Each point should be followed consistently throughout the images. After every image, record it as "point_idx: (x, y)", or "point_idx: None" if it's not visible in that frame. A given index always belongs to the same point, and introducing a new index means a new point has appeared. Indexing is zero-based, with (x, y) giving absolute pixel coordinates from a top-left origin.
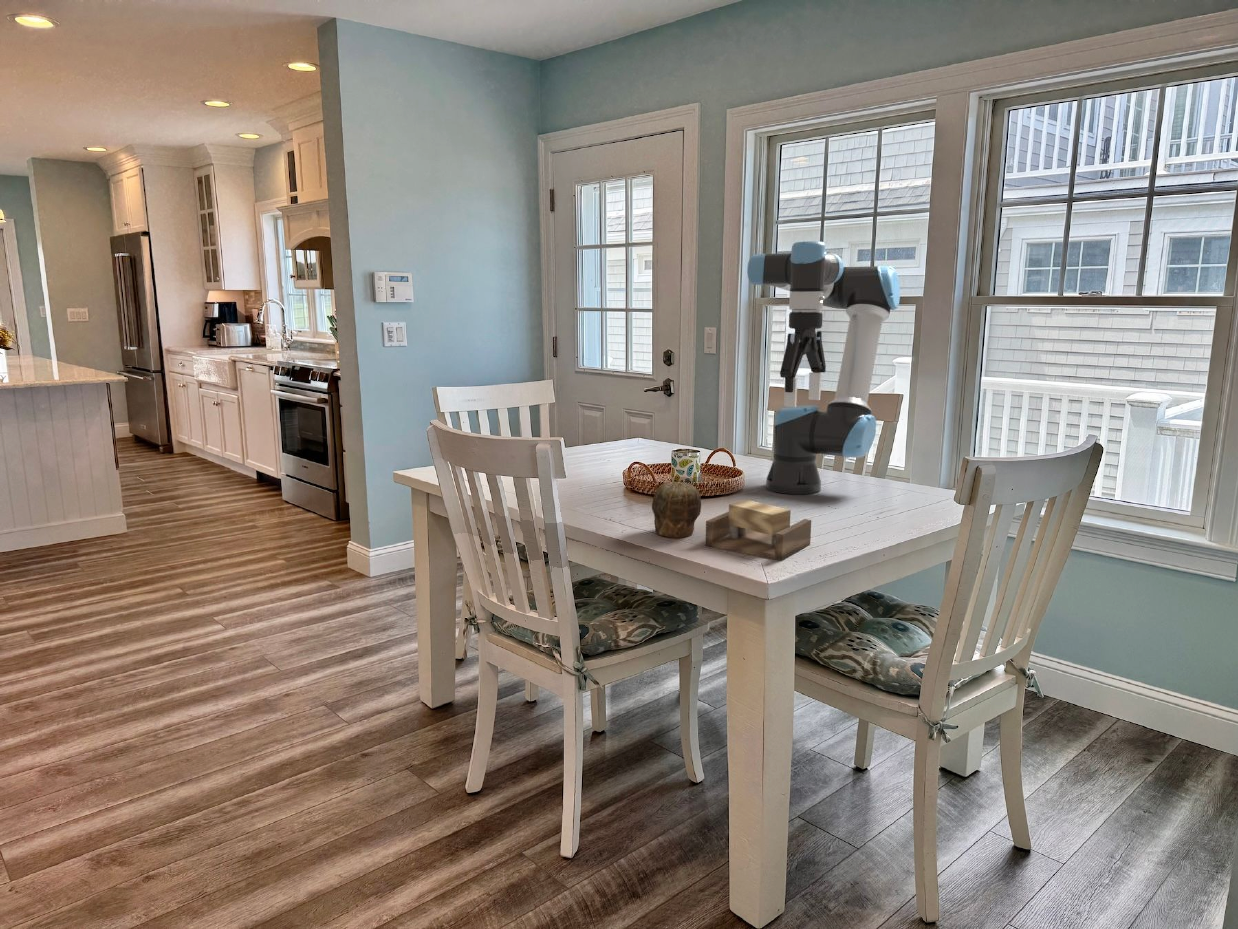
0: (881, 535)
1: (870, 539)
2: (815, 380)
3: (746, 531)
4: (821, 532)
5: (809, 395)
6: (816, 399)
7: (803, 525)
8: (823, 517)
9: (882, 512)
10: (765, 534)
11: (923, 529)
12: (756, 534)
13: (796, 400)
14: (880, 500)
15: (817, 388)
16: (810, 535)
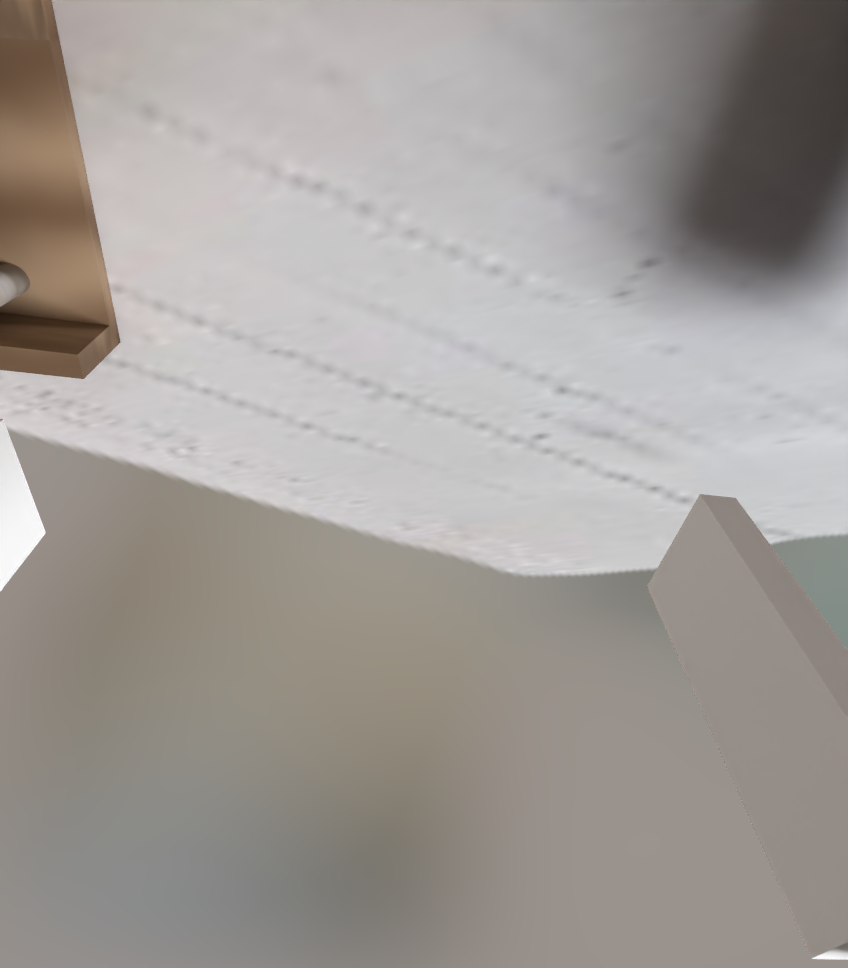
0: (347, 479)
1: (291, 465)
2: (784, 778)
3: (17, 81)
4: (275, 335)
5: (714, 538)
6: (658, 572)
7: (15, 368)
8: (470, 289)
9: (608, 436)
10: (47, 181)
11: (458, 543)
12: (16, 145)
13: (5, 584)
14: (777, 402)
15: (708, 686)
16: (106, 354)
